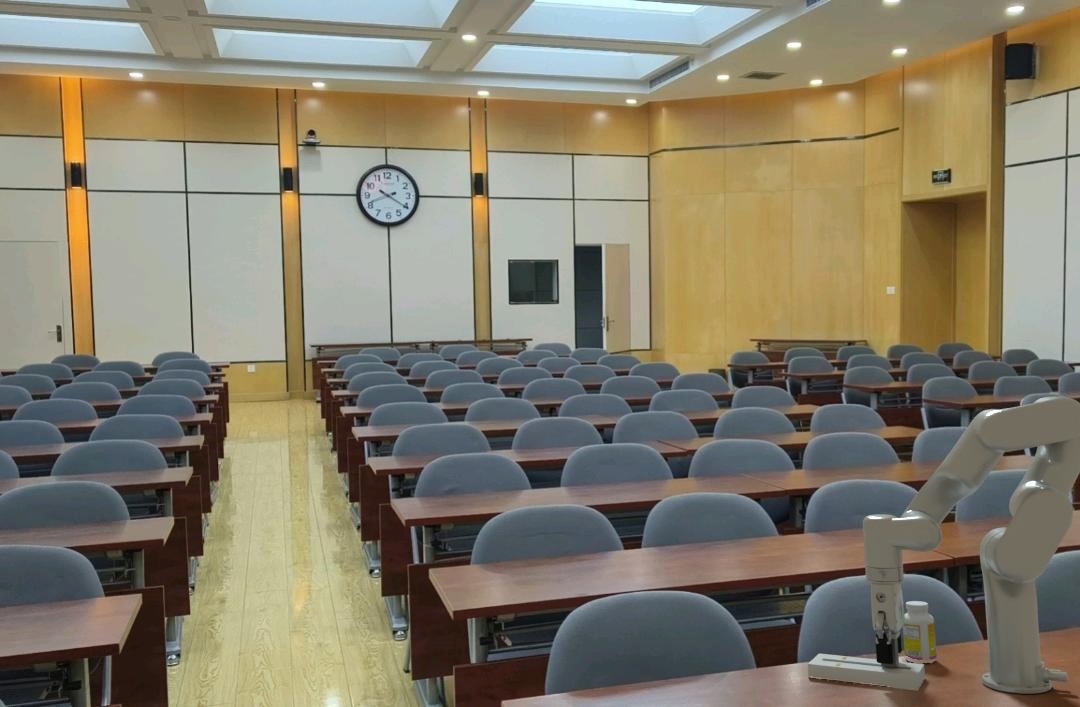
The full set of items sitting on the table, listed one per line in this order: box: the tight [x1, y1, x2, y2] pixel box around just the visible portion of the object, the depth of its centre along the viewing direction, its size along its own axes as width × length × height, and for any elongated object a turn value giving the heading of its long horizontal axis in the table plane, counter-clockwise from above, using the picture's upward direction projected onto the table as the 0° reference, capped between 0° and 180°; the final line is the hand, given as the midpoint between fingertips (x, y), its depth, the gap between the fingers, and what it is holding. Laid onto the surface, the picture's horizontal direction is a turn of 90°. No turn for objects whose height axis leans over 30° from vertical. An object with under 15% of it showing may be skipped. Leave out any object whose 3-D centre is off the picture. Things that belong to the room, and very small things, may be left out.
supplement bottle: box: [902, 600, 938, 661], centre depth 209 cm, size 7×7×13 cm
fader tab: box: [881, 629, 901, 668], centre depth 195 cm, size 4×4×7 cm
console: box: [807, 653, 926, 692], centre depth 197 cm, size 22×9×3 cm, turn 59°
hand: (889, 657), depth 195 cm, fingers open, 8 cm apart
